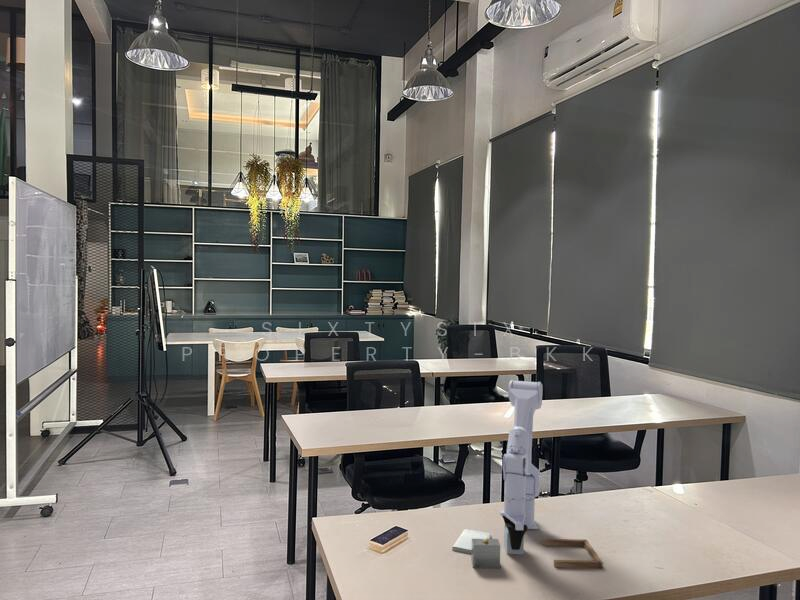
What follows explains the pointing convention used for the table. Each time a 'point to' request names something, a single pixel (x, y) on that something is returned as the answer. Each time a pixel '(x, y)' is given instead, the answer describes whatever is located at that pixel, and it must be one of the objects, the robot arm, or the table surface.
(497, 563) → the unit
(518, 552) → the block
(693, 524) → the table surface
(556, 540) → the bay
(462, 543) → the hard drive
